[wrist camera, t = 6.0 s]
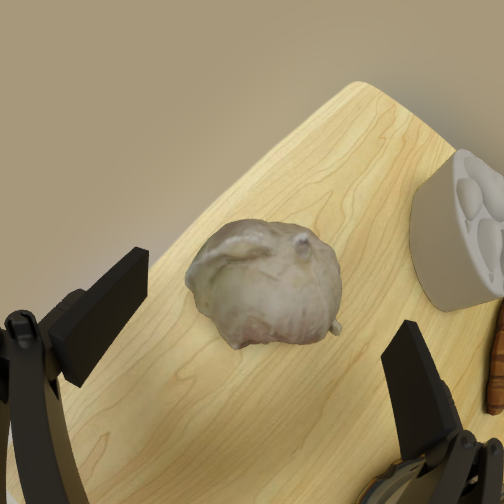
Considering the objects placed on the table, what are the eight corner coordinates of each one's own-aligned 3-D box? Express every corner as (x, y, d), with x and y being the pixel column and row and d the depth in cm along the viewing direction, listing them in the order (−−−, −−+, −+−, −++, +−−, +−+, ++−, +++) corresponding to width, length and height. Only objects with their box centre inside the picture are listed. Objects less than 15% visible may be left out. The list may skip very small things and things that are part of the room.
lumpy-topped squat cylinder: (477, 213, 25) (524, 179, 17) (475, 322, 21) (538, 307, 13) (411, 176, 26) (456, 127, 17) (400, 296, 21) (469, 269, 13)
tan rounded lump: (205, 299, 23) (131, 245, 14) (283, 233, 24) (252, 147, 15) (276, 392, 18) (227, 402, 10) (365, 314, 19) (391, 258, 10)
